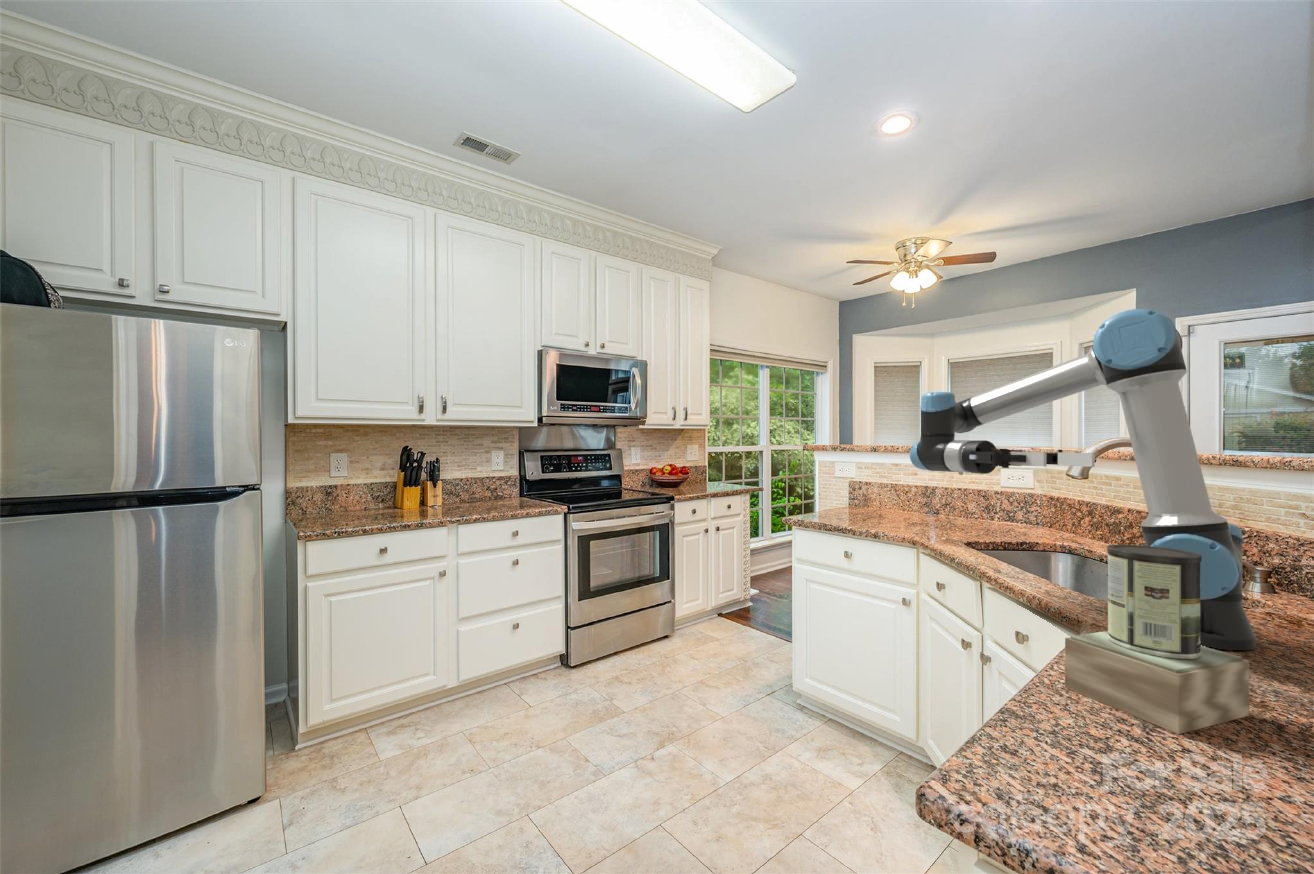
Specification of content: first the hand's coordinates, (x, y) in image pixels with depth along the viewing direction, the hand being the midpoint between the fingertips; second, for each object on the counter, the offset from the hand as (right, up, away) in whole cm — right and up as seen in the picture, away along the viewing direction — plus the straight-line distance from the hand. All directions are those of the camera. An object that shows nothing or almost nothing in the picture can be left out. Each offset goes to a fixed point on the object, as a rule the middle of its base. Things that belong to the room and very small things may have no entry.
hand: (1070, 459), depth 103 cm
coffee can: (-7, -27, -24) cm, 37 cm away
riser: (-7, -34, -24) cm, 43 cm away
